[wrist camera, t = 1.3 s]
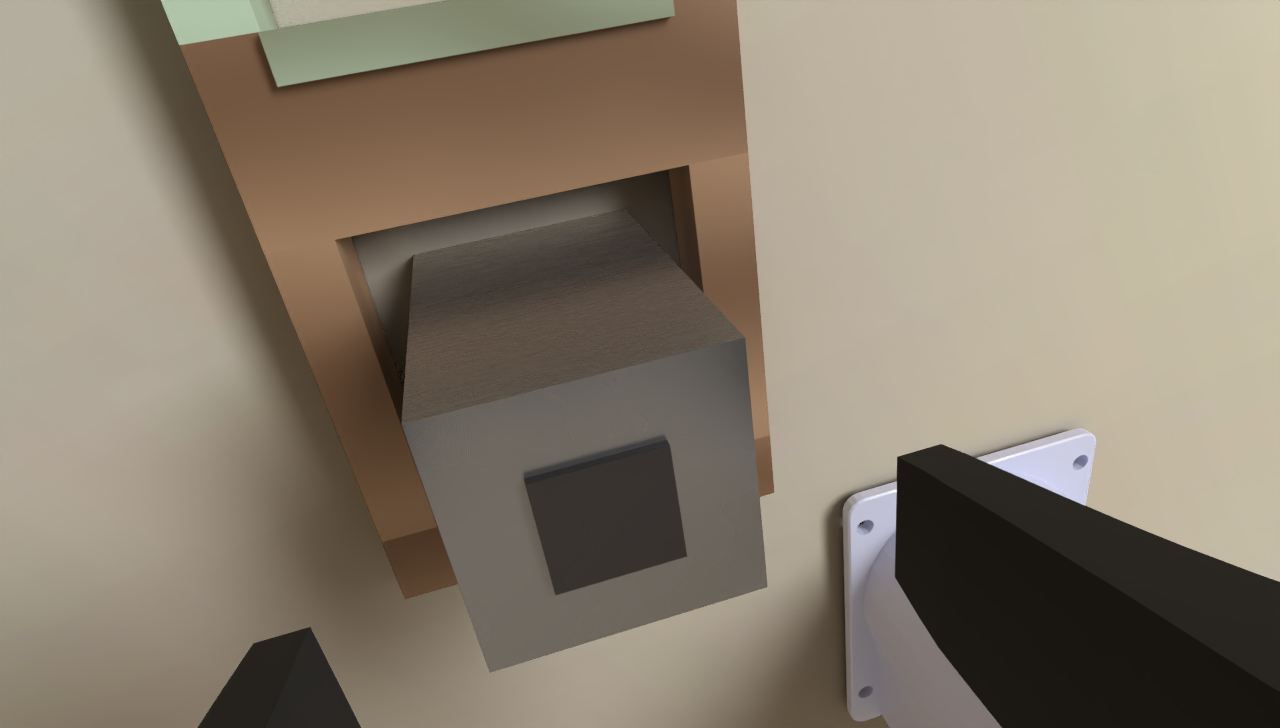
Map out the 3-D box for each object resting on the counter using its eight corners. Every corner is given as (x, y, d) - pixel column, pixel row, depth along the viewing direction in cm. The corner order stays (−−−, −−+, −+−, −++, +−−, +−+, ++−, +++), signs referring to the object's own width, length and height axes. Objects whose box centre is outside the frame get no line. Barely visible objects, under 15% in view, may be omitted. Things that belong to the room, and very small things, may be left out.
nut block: (653, 388, 18) (771, 593, 12) (469, 436, 17) (490, 679, 11) (624, 208, 16) (749, 341, 10) (413, 254, 15) (401, 430, 9)
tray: (749, 457, 20) (777, 497, 18) (406, 553, 18) (404, 604, 17) (638, -724, 10) (676, -856, 9) (-86, -711, 9) (-199, -865, 7)
